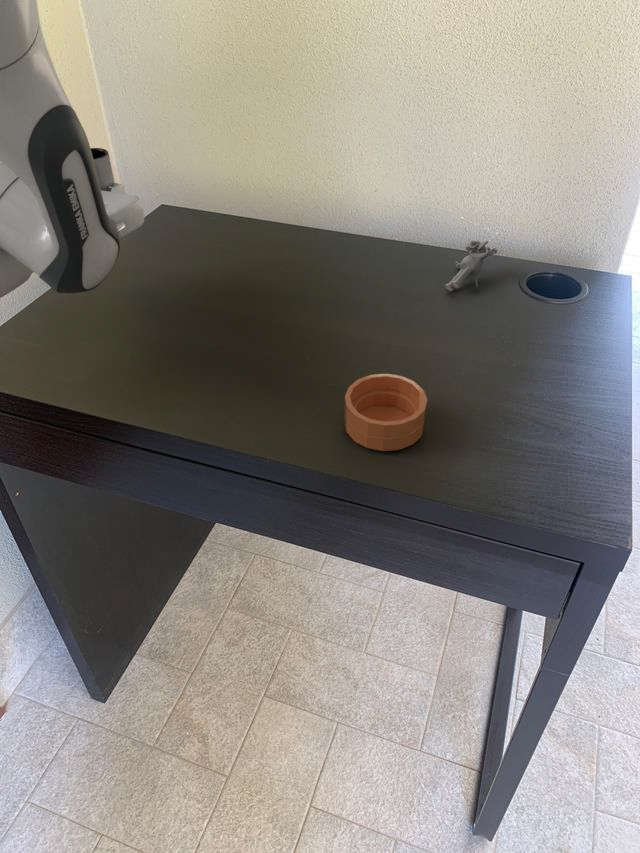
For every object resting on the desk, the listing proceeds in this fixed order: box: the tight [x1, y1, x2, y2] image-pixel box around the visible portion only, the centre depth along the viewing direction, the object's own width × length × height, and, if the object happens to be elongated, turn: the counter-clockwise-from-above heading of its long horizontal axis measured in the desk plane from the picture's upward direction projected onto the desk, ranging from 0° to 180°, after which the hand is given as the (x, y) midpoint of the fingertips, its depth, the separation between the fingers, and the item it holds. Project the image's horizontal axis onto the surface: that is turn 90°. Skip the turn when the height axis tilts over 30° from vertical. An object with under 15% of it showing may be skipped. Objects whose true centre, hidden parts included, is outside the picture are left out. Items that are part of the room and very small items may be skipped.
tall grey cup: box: [90, 147, 115, 191], centre depth 95 cm, size 4×4×10 cm
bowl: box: [343, 373, 428, 452], centre depth 79 cm, size 9×9×4 cm
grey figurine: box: [444, 240, 498, 293], centre depth 104 cm, size 10×6×9 cm
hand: (102, 185), depth 96 cm, fingers closed on tall grey cup, 4 cm apart
